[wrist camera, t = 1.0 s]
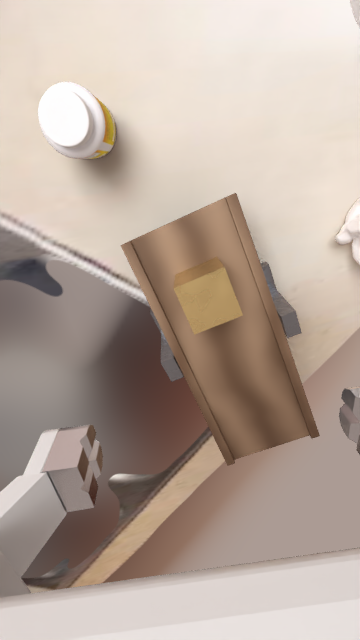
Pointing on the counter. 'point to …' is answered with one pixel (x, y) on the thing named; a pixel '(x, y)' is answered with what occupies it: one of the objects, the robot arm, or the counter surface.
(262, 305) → the beam
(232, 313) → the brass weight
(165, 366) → the trestle
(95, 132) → the supplement bottle
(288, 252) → the counter surface
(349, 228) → the white seated figurine
